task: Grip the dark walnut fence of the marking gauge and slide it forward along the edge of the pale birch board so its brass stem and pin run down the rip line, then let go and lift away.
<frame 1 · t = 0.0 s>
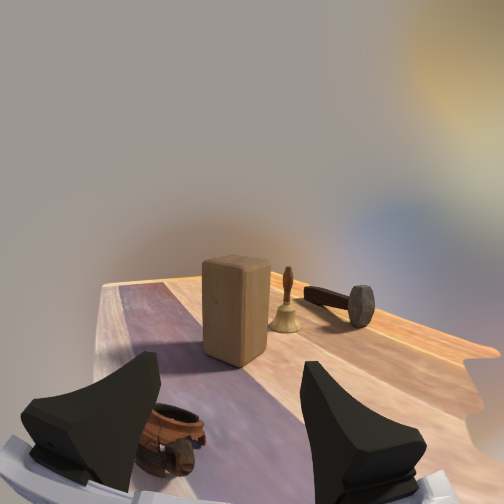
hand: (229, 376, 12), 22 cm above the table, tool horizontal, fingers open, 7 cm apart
hand bell: (285, 327, 71), on the table
wooden block: (235, 353, 56), on the table
hammer: (332, 312, 82), on the table
broken clay pot: (173, 458, 26), on the table
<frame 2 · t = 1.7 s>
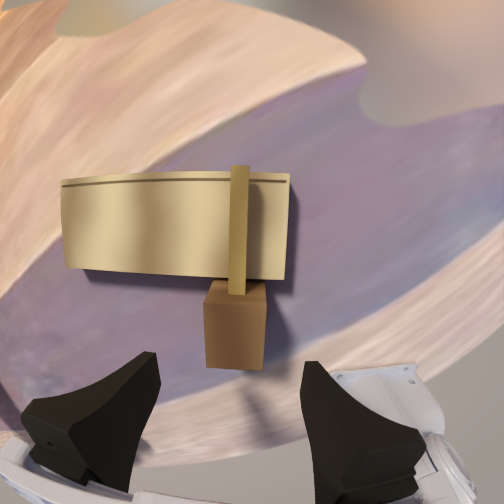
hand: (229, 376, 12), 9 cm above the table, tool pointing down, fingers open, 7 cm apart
board: (166, 220, 20), on the table
gauge: (238, 264, 17), point 3 cm above the table, slide at 0.0 cm
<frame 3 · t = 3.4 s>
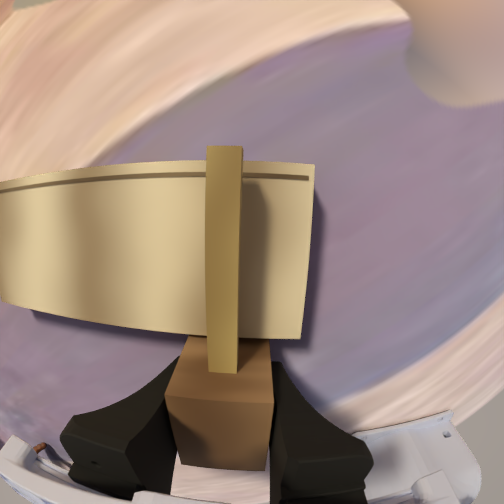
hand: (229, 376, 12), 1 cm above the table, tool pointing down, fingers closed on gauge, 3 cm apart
board: (118, 240, 12), on the table
gauge: (225, 320, 10), point 3 cm above the table, slide at 0.0 cm, touching gripper
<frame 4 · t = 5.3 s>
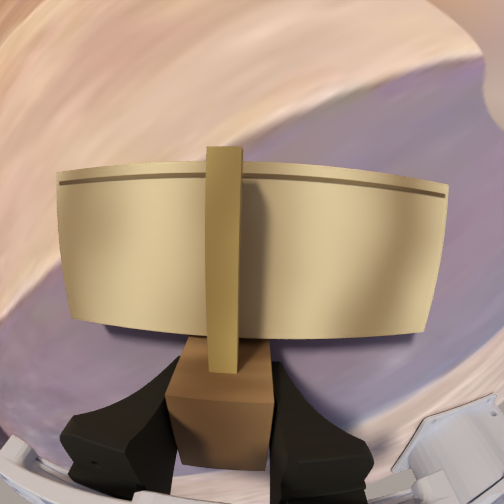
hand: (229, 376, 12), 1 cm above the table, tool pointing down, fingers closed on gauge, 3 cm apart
board: (248, 245, 12), on the table
gauge: (225, 321, 10), point 3 cm above the table, slide at 6.2 cm, touching gripper
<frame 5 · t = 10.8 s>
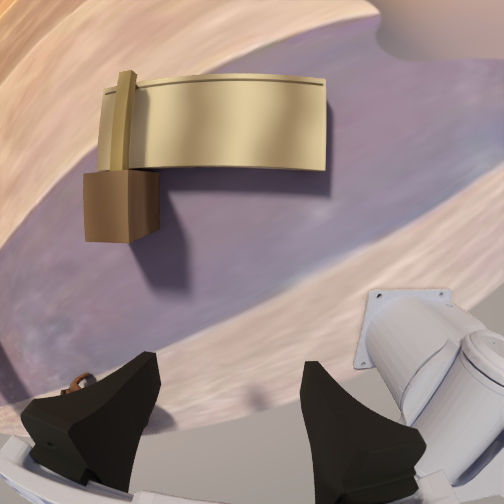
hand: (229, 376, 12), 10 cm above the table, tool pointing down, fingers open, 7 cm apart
board: (208, 123, 19), on the table
gauge: (124, 152, 17), point 3 cm above the table, slide at 11.0 cm
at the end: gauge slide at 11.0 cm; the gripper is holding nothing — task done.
